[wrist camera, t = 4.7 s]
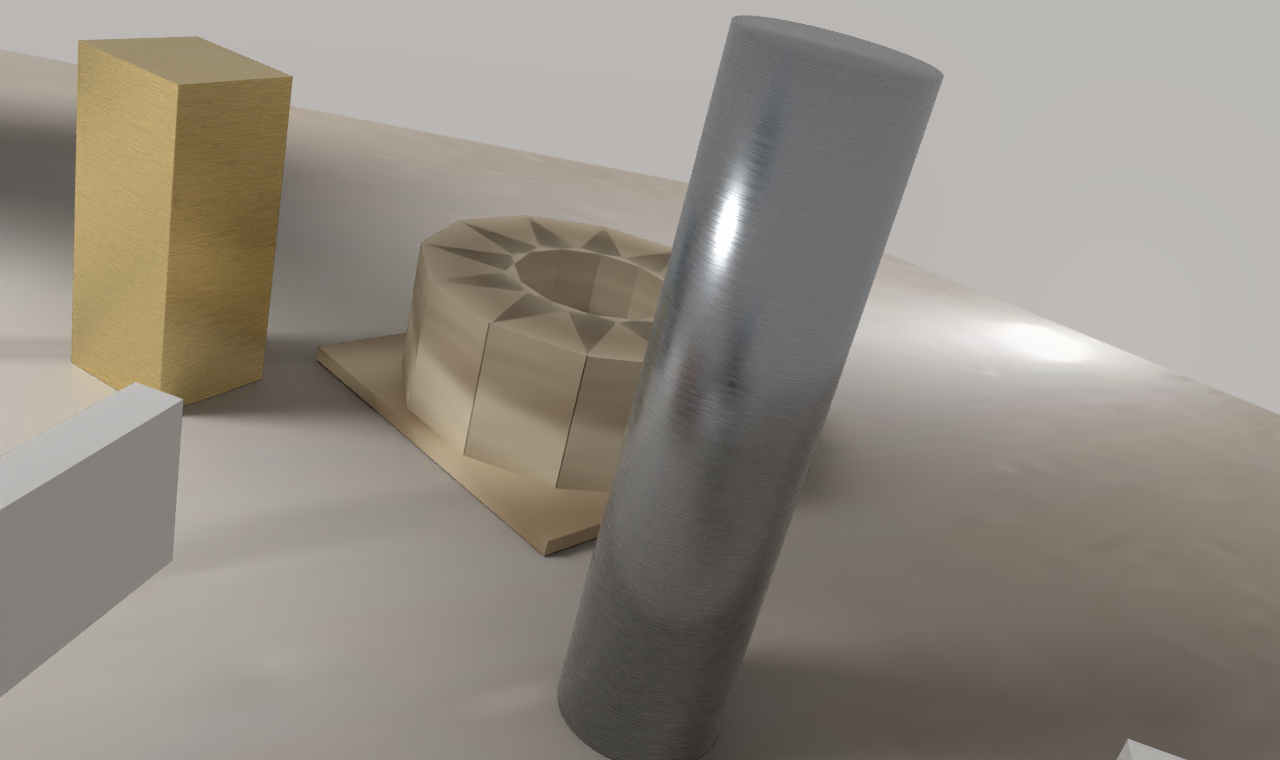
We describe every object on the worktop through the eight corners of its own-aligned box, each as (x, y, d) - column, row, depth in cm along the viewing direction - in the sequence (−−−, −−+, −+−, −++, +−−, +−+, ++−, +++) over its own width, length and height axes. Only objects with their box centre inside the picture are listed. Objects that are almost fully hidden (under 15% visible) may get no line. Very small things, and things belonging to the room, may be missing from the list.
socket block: (316, 359, 40) (333, 223, 38) (582, 316, 48) (607, 203, 46) (544, 555, 33) (580, 402, 31) (807, 464, 41) (850, 339, 39)
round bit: (524, 684, 28) (687, 9, 21) (640, 632, 31) (818, 22, 24) (636, 794, 26) (861, 76, 19) (751, 727, 28) (983, 81, 22)
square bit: (71, 361, 36) (78, 40, 32) (177, 331, 39) (197, 36, 35) (158, 415, 35) (178, 84, 30) (261, 379, 38) (292, 76, 34)
